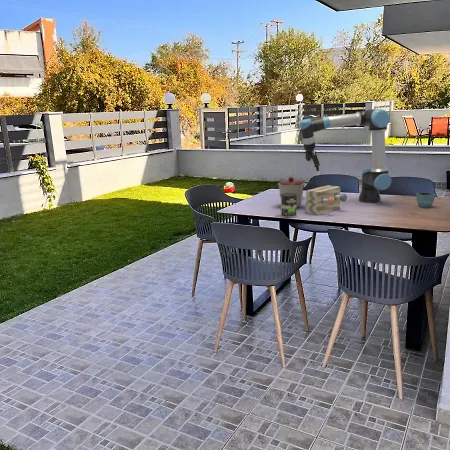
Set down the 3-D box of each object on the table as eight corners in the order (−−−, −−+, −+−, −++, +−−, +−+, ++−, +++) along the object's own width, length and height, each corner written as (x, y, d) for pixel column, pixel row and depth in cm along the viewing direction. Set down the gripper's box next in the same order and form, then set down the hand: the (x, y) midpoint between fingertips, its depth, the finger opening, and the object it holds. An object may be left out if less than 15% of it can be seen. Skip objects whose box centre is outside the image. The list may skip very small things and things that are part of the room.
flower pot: (414, 205, 308) (415, 192, 306) (427, 205, 309) (428, 192, 307) (421, 208, 300) (422, 195, 298) (434, 207, 300) (435, 194, 298)
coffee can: (299, 216, 290) (299, 195, 286) (284, 218, 287) (284, 196, 284) (292, 213, 299) (292, 192, 296) (278, 215, 297) (278, 193, 293)
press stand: (305, 212, 300) (306, 190, 296) (327, 206, 315) (328, 185, 312) (318, 215, 293) (318, 192, 289) (339, 208, 308) (340, 186, 304)
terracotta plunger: (314, 203, 296) (314, 195, 295) (319, 202, 299) (319, 194, 298) (329, 205, 288) (330, 198, 286) (334, 204, 291) (334, 196, 290)
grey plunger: (327, 200, 305) (327, 192, 304) (331, 198, 308) (331, 191, 307) (342, 202, 297) (342, 194, 295) (347, 201, 300) (347, 193, 298)
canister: (273, 207, 320) (272, 177, 314) (287, 202, 332) (287, 174, 327) (294, 210, 308) (294, 179, 302) (309, 205, 320) (309, 176, 315)
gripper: (297, 140, 312) (302, 168, 321) (310, 148, 289) (316, 179, 298) (307, 137, 312) (312, 165, 321) (321, 145, 290) (326, 175, 299)
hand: (314, 172), depth 310 cm, fingers open, 13 cm apart
